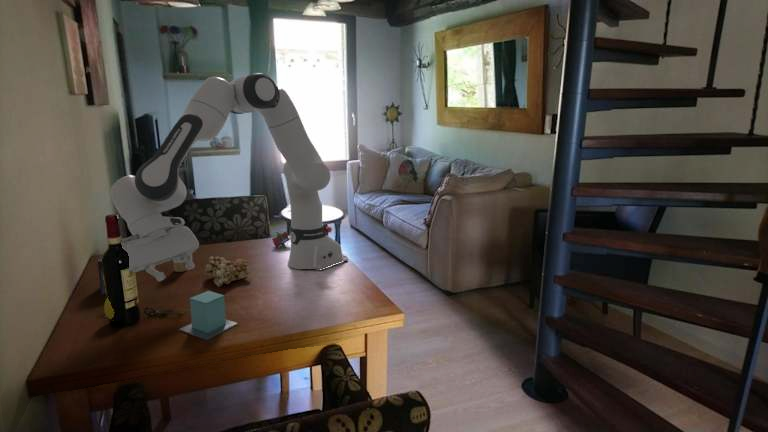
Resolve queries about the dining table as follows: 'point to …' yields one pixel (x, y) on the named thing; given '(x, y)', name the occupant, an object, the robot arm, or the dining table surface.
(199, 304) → the tall teal block
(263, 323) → the dining table surface
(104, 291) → the box
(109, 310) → the lemon
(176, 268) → the sprinkles bottle
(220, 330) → the post
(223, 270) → the mineral formation
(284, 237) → the geometric puzzle
